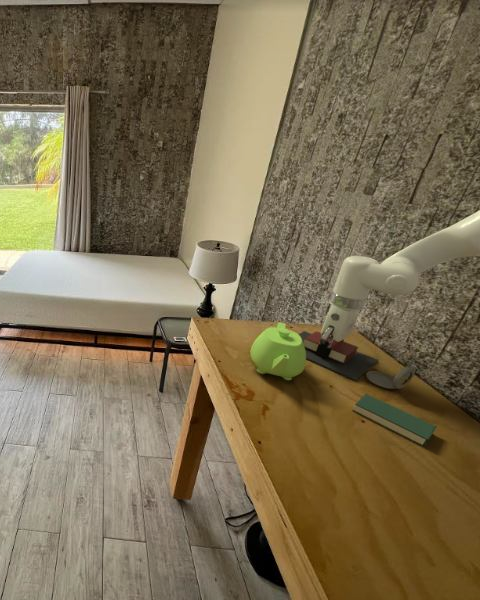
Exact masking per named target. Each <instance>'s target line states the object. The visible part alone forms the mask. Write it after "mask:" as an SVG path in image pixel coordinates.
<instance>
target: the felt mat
mask: <svg viewBox="0 0 480 600" xmlns="http://www.w3.org/2000/svg"><path fill="white" fill-rule="evenodd" d="M311 334H312V333H310V332H308V331H306V330H304V331H302V332H300V333H298V335H299V336H300V337H301V339H302V341H303V343H304V340H305V338H307V337H308V336H310V335H311ZM305 352H306V361H308V362H311V363H313V364H316V365H318V366H319V367H322V368H324V369H327V370H328V371H331V372H333V373H336V374H338V375H340V376H342V377H345V379H346V378H347V379H349V380H351V381H353V382H357V381H358V380H359V379H360V378H361V377H363V375H364V374H366V373H367V372H369V370H370V369H371V368H372V367H373V366H374V365H376V363H377V362H378V361H379V359H377V358H375V357H373V356H369V355H367V354H365V353H362V352H359V351H358V350H357V351H356V353H355V356H353V357H352V358H351V359H350V360H348V361H347V362H346V363H345V364H343V363H341V362H338V361H336V360H333V359H331V358H329V357H328V359H327V360H326V359H323V358H321V357H319V356H316V355H315V353H316V352H314V351H312V350H310V349H307V348H305Z"/></svg>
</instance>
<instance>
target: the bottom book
mask: <svg viewBox="0 0 480 600" xmlns="http://www.w3.org/2000/svg"><path fill="white" fill-rule="evenodd" d="M352 412H354V413H355V414H358V415H360V416H361V417H364V418H365V419H367V420H370V421H372V422H373V423H375V424H378V425H379V426H382V427H384V428H385V429H387V430H389V431H392V432H393V433H395V434H396V435H399V436H401V437H403V438H405V439H407V440H408V441H411V442H412V443H415V444H417V445H419V446H421V447H423V448H425V447H426V445H427V443H428V441H429V440H430V438H431V437H432V435H433V433H434V432H435V431H436V428H437V427H438V426H437V425H435V424H432V423H431V422H429V421H426V420H424V419H423V418H422V419H421V418H420V417H417V416H415V415H413V414H411V413H409V412H406V411H404V410H403V409H400V408H398V407H396V406H394V405H391V404H389V403H387V402H385V401H383V400H381V399H378V398H377V397H374V396H372V395H369V394H368V393H365V394H364V395H363V396H362V397H361V398H360V399H358V401H357V402H356V403H355V404H354V406H353V409H352Z"/></svg>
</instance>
